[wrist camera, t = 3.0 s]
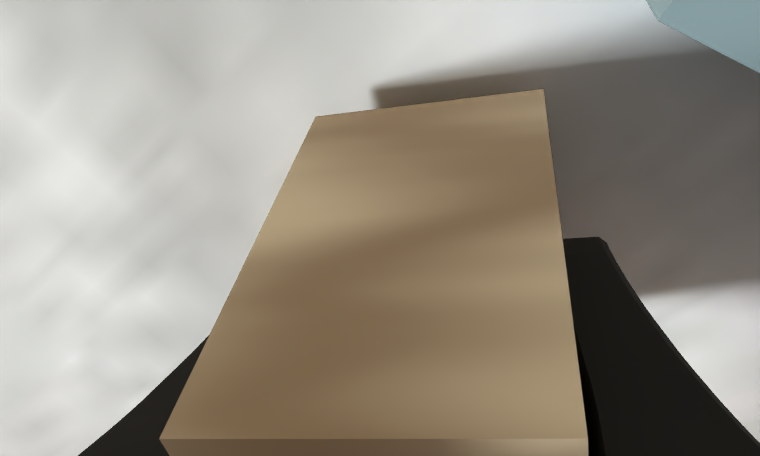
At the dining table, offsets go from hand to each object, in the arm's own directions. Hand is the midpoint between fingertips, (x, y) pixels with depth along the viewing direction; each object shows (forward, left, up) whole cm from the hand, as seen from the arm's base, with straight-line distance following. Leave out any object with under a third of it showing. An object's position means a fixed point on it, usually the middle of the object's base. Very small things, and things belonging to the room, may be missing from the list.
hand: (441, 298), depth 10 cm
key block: (0, 0, -2) cm, 2 cm away
